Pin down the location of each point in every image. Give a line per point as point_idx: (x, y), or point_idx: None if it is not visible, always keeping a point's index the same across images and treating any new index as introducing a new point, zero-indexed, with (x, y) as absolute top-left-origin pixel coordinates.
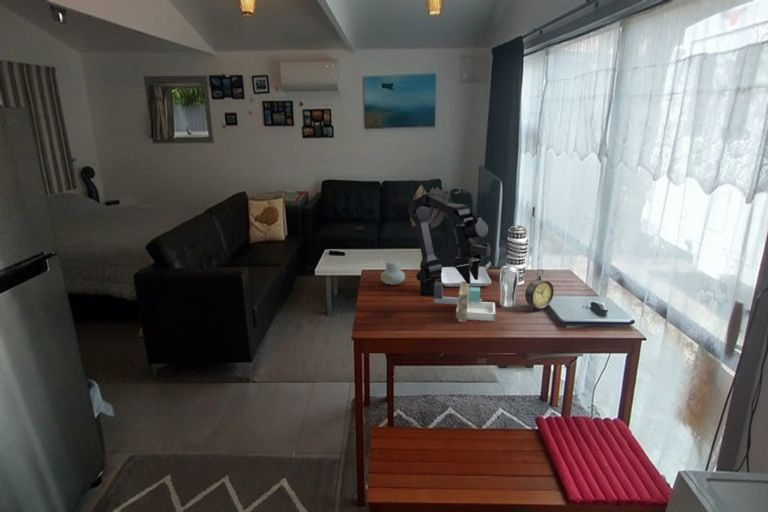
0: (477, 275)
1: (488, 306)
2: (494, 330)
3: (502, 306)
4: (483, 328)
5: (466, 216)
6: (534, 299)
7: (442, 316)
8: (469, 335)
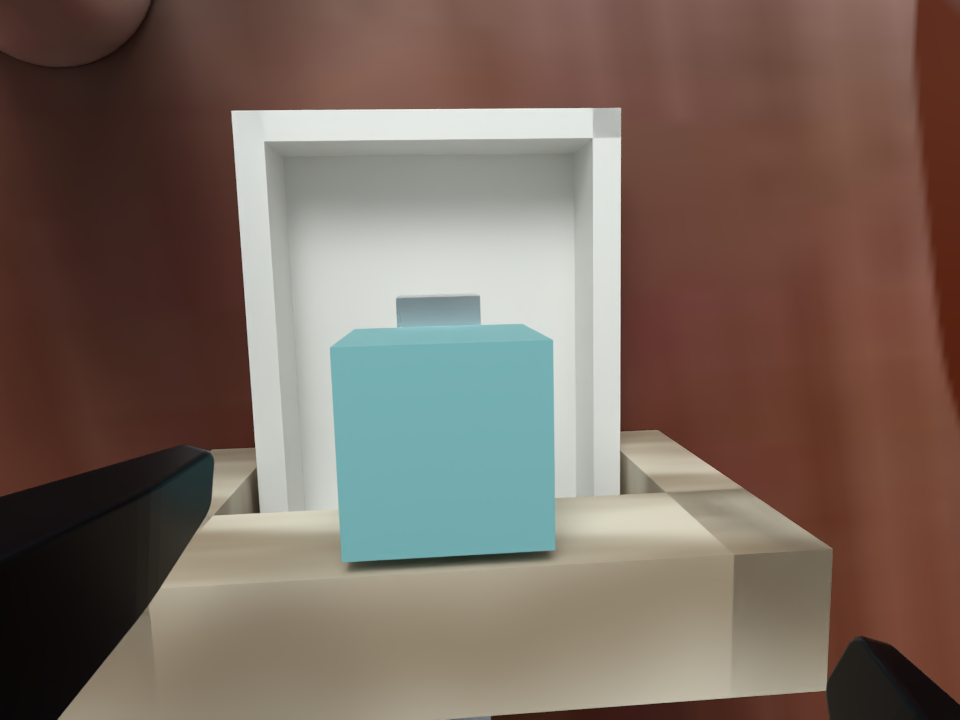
0: (143, 496)
1: (279, 204)
2: (803, 136)
3: (136, 29)
4: (772, 251)
5: None
6: None
7: None
8: (935, 378)
